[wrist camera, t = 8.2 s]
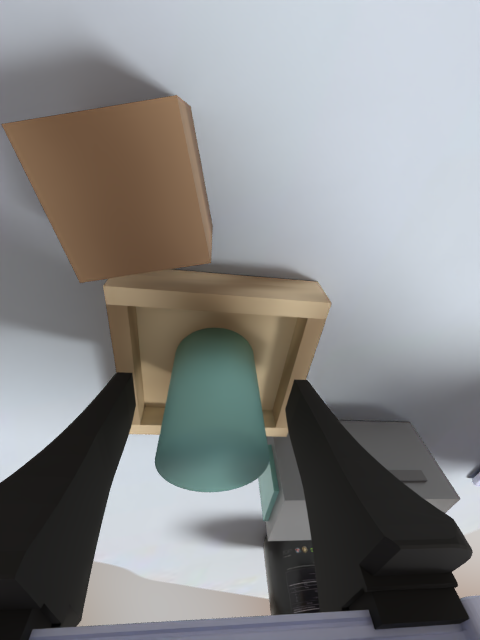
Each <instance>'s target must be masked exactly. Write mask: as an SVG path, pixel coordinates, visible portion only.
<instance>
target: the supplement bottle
mask: <svg viewBox="0 0 480 640" xmlns="http://www.w3.org/2000/svg"><path fill="white" fill-rule="evenodd" d="M263 548H264V558H265V567H266V576H267V584H268V593H269V602H270V610H271V615H287V614H304V613H320V610H319V599H318V590H317V581H316V572H315V563H314V556H313V548H312V540H293V541H268V538H267V537H266V538H265V541H264V545H263Z"/></svg>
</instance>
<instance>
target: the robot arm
mask: <svg viewBox="0 0 480 640" xmlns="http://www.w3.org/2000/svg"><path fill="white" fill-rule="evenodd" d="M135 407H136V400H135V392H134V383H133V374H132V373H125V372H117V373H116V374H115V375H114V376H113V377H112V379H111V380H110V381H109V382H108V384H107V385H106V386H105V387H104V388H103V390H102V391H101V392H100V393H99V394H98V395H97V397H96V398H95V399H94V400H93V401H92V402H91V403H90V404H89V405H88V407H87V408H86V409H85V410H84V411H83V412H82V413H81V414H80V415H79V416H78V417H77V418H76V419H75V420H74V421H73V422H72V423H71V424H70V425H69V426H68V427H67V428H66V429H65V430H64V431H63V432H62V433H61V434H60V435H59V436H58V437H57V438H56V439H54V440H53V441H52V442H51V443H50V444H49V445H48V446H46V447H45V448H44V449H43V450H42V451H41V452H40V453H38V454H37V455H36V456H35V457H33V458H32V459H31V460H30V461H28V462H27V463H26V464H25V465H24V466H22V467H21V468H20V469H18V470H17V471H16V472H15V473H13V474H12V475H11V476H9V477H8V478H6V479H5V480H4V481H2V482H1V483H0V640H480V596H468V597H464V598H461V599H460V598H459V596H458V595H457V593H456V591H455V589H454V588H456V587H457V586H458V584H457V581H456V579H455V578H454V576H453V574H452V571H454V570H455V569H457V568H458V567H460V566H461V565H462V564H464V563H465V562H466V561H468V560H469V559H470V558H471V556H472V549H471V547H470V545H469V544H468V542H467V541H466V539H465V537H464V535H463V534H462V532H461V530H460V529H459V527H458V526H457V524H456V523H455V521H454V519H452V518H451V517H450V516H448V515H447V514H445V513H444V512H442V511H441V510H439V509H438V508H436V507H435V506H434V505H432V504H431V503H429V502H428V501H426V500H425V499H424V498H422V497H421V496H420V495H418V494H417V493H416V492H414V491H413V490H412V489H410V488H409V487H408V486H406V485H405V484H404V483H403V482H401V481H400V480H399V479H398V478H396V477H395V476H394V475H393V474H392V473H391V472H389V471H388V470H387V469H386V468H385V467H384V466H383V465H381V464H380V463H379V462H378V461H377V460H376V459H375V458H374V457H373V456H372V455H371V454H369V453H368V452H367V451H366V450H365V449H364V448H363V447H362V446H361V445H360V444H359V443H358V442H357V441H356V440H355V438H354V437H353V436H352V435H351V434H350V433H349V432H348V431H347V430H346V429H345V427H344V426H343V425H342V424H341V423H340V422H339V420H338V419H337V418H336V417H335V415H334V414H333V413H332V412H331V411H330V409H329V408H328V407H327V405H326V404H325V403H324V402H323V400H322V399H321V398H320V396H319V395H318V394H317V392H316V391H315V390H314V388H313V387H312V386H311V384H310V383H309V382H308V381H307V380H295V379H294V382H293V385H292V389H291V392H290V395H289V398H288V402H287V405H286V408H285V412H286V419H287V426H288V432H289V436H290V440H291V444H292V447H293V451H294V455H295V458H296V462H297V466H298V470H299V473H300V477H301V481H302V486H303V490H304V496H305V502H306V508H307V514H308V520H309V527H310V533H311V540H312V548H313V556H314V563H315V572H316V581H317V590H318V599H319V610H320V613H304V614H287V615H270V616H253V617H237V618H236V617H235V618H219V619H201V620H184V621H167V622H151V623H133V624H116V625H98V626H81V627H76V626H77V625H78V624H79V622H80V621H81V618H82V613H83V608H84V603H85V598H86V593H87V587H88V583H89V578H90V573H91V568H92V564H93V559H94V555H95V550H96V546H97V541H98V537H99V533H100V528H101V524H102V520H103V516H104V512H105V508H106V504H107V499H108V495H109V491H110V488H111V485H112V481H113V478H114V475H115V473H116V470H117V467H118V464H119V461H120V458H121V455H122V452H123V450H124V447H125V444H126V441H127V438H128V435H129V432H130V429H131V425H132V421H133V417H134V412H135ZM472 482H473V484H474V485H475V486H480V472H479V473H478V474H477V475H476V476H475V477H474V478H473V479H472Z"/></svg>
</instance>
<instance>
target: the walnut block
mask: <svg viewBox="0 0 480 640" xmlns="http://www.w3.org/2000/svg"><path fill="white" fill-rule="evenodd" d="M2 126H3V128H4V130H5V132H6V134H7V136H8V138H9V140H10V142H11V144H12V146H13V148H14V150H15V152H16V155H17V157H18V159H19V161H20V163H21V165H22V167H23V169H24V171H25V173H26V175H27V177H28V179H29V181H30V183H31V185H32V187H33V189H34V191H35V193H36V195H37V197H38V199H39V201H40V203H41V205H42V207H43V209H44V211H45V213H46V215H47V217H48V219H49V221H50V223H51V225H52V227H53V229H54V231H55V233H56V235H57V237H58V239H59V241H60V243H61V245H62V247H63V249H64V251H65V253H66V255H67V257H68V259H69V262H70V264H71V266H72V268H73V270H74V272H75V274H76V276H77V278H78V280H79V282H80V283H83V282H89V281H96V280H102V279H109V278H116V277H122V276H129V275H135V274H142V273H148V272H155V271H161V270H168V269H175V268H181V267H188V266H194V265H201V264H207V263H211V250H212V230H213V225H212V220H211V214H210V209H209V204H208V198H207V193H206V187H205V182H204V177H203V171H202V166H201V160H200V155H199V150H198V144H197V139H196V133H195V128H194V123H193V117H192V112H191V106H189V105H188V104H187V103H186V102H185V101H183V100H182V99H181V98H180V97H178V96H177V95H175V96H169V97H163V98H157V99H151V100H145V101H139V102H132V103H126V104H120V105H114V106H108V107H102V108H96V109H90V110H84V111H78V112H72V113H66V114H60V115H54V116H48V117H41V118H35V119H29V120H23V121H17V122H11V123H5V124H2Z"/></svg>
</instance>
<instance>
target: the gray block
mask: <svg viewBox="0 0 480 640" xmlns="http://www.w3.org/2000/svg"><path fill="white" fill-rule="evenodd" d="M339 422H340V423H341V424H342V425H343V426H344V427H345V429H346V430H347V431H348V432H349V433H350V434H351V435H352V436H353V437H354V438H355V440H356V441H357V442H358V443H359V444H360V445H361V446H362V447H363V448H364V449H365V450H366V451H367V452H368V453H369V454H371V455H372V456H373V457H374V458H375V459H376V460H377V461H378V462H379V463H380V464H381V465H383V466H384V467H385V468H386V469H387V470H388V471H389V472H391V473H392V474H393V475H394V476H395V477H396V478H398V479H399V480H400V481H401V482H403V483H404V484H405V485H406V486H408V487H409V488H410V489H412V490H413V491H414V492H416V493H417V494H418V495H420V496H421V497H422V498H424V499H425V500H426V501H428V502H429V503H431V504H432V505H434V506H435V507H436V508H438V509H439V510H441V511H442V512H444V513H446V512H447V511H448V510H449V509H450V508H451V507H452V506H453V505H454V504H455V503H457V502H458V501H459V500H460V497H459V496H458V494H457V493H456V491H455V490H454V488H453V487H452V485H451V484H450V482H449V480H448V479H447V477H446V476H445V474H444V473H443V471H442V470H441V468H440V467H439V465H438V464H437V462H436V461H435V459H434V458H433V456H432V455H431V453H430V452H429V450H428V448H427V447H426V445H425V444H424V442H423V441H422V439H421V438H420V436H419V435H418V433H417V432H416V430H415V429H414V427H413V426H412V424H411V423H410V422H379V421H339ZM266 437H267V444H268V450H269V464H268V466H267V468H266V470H265V471H264V473H263V474H262V475H261V476H260V477H258V480H259V489H260V498H261V506H262V515H263V521H266V530H267V538H268V541H293V540H311V533H310V527H309V520H308V514H307V508H306V502H305V496H304V490H303V486H302V481H301V477H300V473H299V470H298V466H297V462H296V458H295V455H294V451H293V447H292V444H291V440H290V436H289V432H288V434H287V437H274V436H266Z"/></svg>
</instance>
